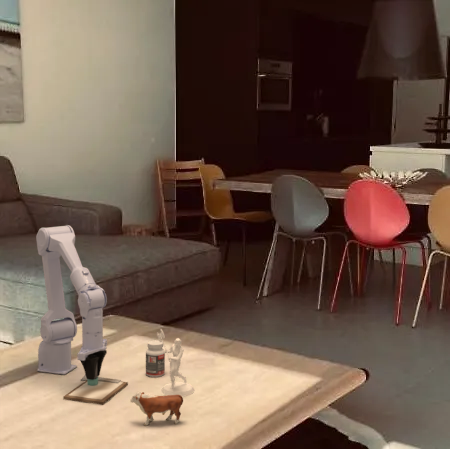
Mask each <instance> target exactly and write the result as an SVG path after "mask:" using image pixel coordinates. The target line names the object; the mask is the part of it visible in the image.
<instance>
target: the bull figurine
mask: <svg viewBox="0 0 450 449" xmlns="http://www.w3.org/2000/svg"><path fill="white" fill-rule="evenodd" d="M130 403H134V404H135V405H136V406H138V407H139V409H140V410H141V412H142V413H143V414H145V415H146V420H145V423H144V424H143V426H145V427H147V426H149V424H150V423H152V422H153V421H154V417H153V414H155V413H157V414H161V415H162V416H164V415H165V414H166V413H167V412H168V411H170V412H169V415H168V416H167V417H166V418H165V421H170V420H172V418H173V415H174V416H175V421H174V423H173V424H174V425H178V424H179V423H180V418H181V414H182V413H181V411H180V409H181V407H182V405H183V403H184V398H183V396H181V395H153V394H148V393H145V392H144V391H142V392H141V391H137V392H135V393H134V394H133V396H132V397H131V398H130Z"/></svg>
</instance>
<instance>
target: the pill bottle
mask: <svg viewBox="0 0 450 449" xmlns="http://www.w3.org/2000/svg"><path fill="white" fill-rule="evenodd" d="M165 356H166V353H165V348H164V345H163V342H160V341H159V339H157V340H156V339H155V340H150V341H148V342H147V349H146V350H145V375H147V377H151V378H160V377H162V376H164V375H165V372H166V371H165V369H166V367H165V363H166V362H165V361H166V360H165V359H166V357H165Z"/></svg>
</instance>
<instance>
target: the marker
mask: <svg viewBox="0 0 450 449" xmlns="http://www.w3.org/2000/svg"><path fill="white" fill-rule="evenodd" d="M94 356H95V355H94ZM96 357H97V356H96ZM98 377H99V376H98ZM98 377H97V364H96V371H95V378H94V379H93V380H91V379H87V384H88V385H90V386H94V385H97V384H98Z"/></svg>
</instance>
